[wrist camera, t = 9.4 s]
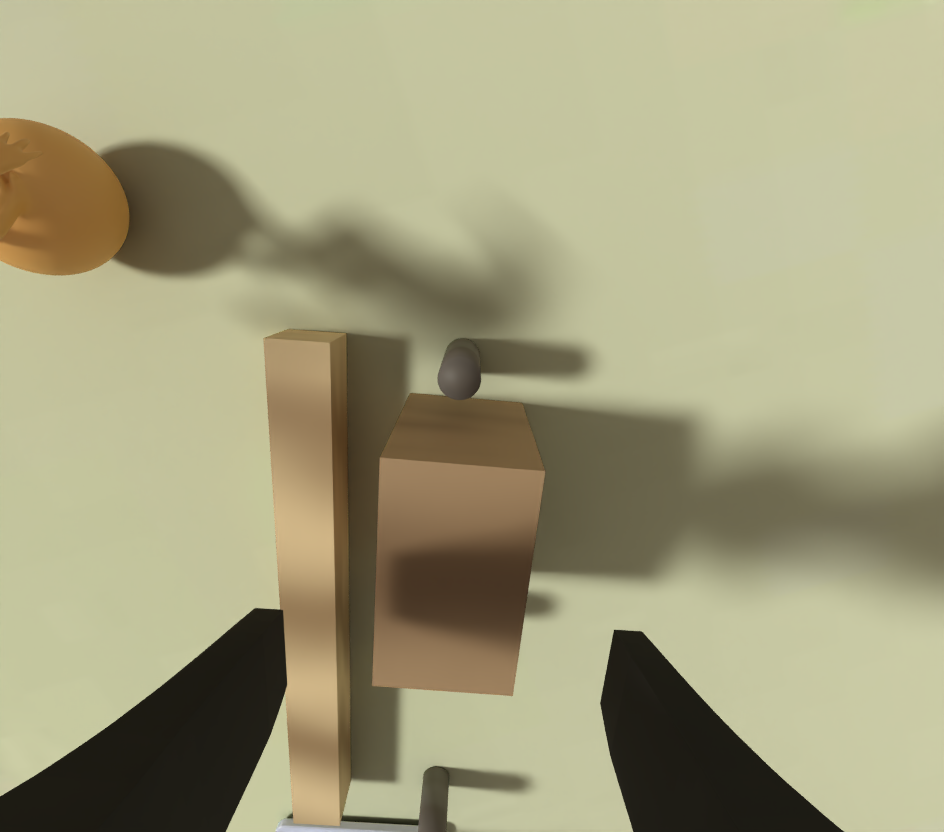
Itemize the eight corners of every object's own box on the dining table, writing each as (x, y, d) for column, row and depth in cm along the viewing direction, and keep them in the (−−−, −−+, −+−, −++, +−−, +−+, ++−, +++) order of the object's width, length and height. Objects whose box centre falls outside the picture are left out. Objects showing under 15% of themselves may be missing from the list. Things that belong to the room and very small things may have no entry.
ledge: (448, 786, 23) (443, 874, 20) (308, 778, 23) (280, 865, 20) (481, 339, 17) (482, 359, 13) (287, 326, 17) (240, 343, 13)
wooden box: (502, 569, 20) (514, 695, 14) (401, 561, 20) (372, 685, 14) (523, 402, 18) (547, 471, 12) (410, 392, 17) (379, 457, 12)
